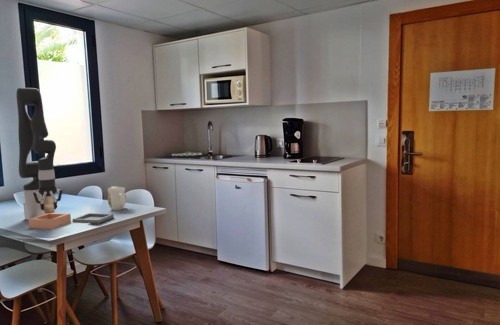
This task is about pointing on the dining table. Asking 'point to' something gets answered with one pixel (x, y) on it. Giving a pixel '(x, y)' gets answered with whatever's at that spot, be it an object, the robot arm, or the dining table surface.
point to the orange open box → (49, 220)
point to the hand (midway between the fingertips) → (49, 209)
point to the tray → (94, 218)
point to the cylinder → (48, 204)
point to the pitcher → (116, 197)
